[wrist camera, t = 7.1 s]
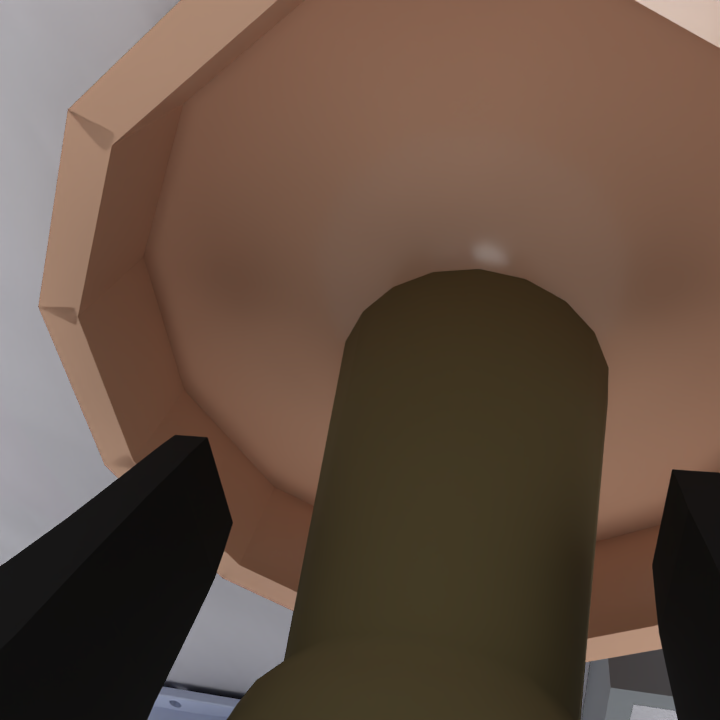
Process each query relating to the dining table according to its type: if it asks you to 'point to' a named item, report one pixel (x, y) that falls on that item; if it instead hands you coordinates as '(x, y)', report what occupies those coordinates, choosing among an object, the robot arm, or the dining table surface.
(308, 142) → the bowl
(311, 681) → the cork
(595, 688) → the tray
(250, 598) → the dining table surface
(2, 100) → the dining table surface
